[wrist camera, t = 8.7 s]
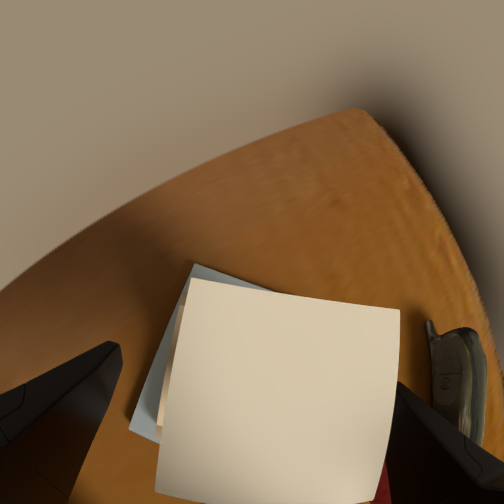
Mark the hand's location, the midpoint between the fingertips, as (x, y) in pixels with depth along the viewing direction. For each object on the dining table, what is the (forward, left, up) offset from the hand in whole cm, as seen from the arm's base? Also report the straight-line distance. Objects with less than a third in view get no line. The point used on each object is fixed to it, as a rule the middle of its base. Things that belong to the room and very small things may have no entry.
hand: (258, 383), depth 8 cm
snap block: (0, 0, -8) cm, 8 cm away
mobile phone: (-17, -1, -10) cm, 20 cm away
